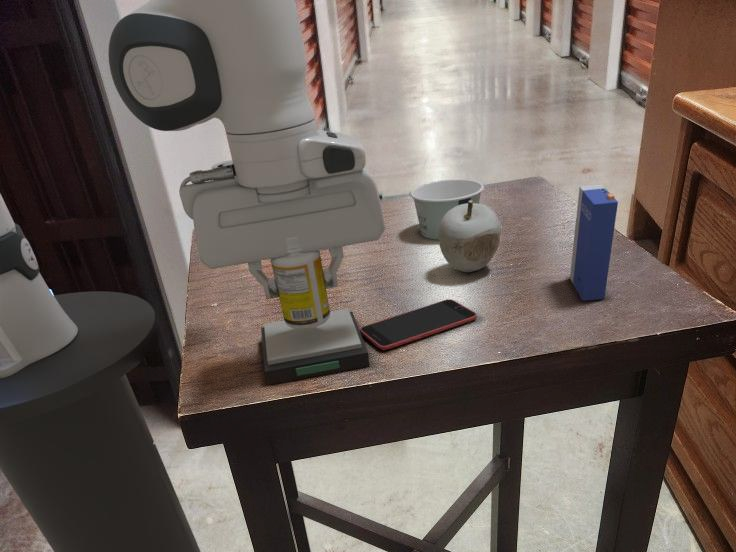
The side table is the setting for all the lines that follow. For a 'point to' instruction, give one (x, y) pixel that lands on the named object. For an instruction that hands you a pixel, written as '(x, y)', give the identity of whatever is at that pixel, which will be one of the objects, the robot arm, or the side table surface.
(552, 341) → the side table surface
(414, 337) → the smartphone
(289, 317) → the supplement bottle
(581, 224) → the walkman
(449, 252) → the decorative object
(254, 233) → the robot arm
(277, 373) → the scale
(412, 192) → the food container
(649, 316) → the side table surface
